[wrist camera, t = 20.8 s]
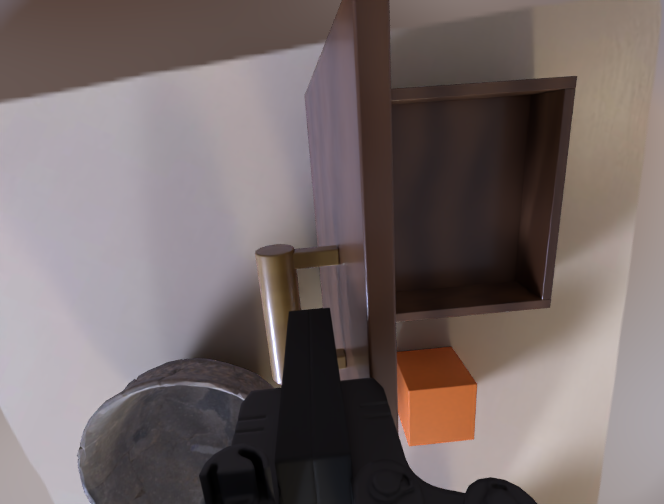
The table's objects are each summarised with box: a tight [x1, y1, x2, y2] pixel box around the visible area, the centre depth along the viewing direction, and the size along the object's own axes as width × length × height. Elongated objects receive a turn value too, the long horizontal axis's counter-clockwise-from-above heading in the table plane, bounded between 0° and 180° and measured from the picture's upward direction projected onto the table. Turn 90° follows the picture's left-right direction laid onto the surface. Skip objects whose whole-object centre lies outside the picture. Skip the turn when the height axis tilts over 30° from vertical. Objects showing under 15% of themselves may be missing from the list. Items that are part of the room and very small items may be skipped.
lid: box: [255, 0, 398, 433], centre depth 21 cm, size 23×21×4 cm
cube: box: [397, 347, 477, 446], centre depth 42 cm, size 7×7×7 cm
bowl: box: [77, 358, 274, 504], centre depth 40 cm, size 21×21×10 cm
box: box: [391, 76, 577, 322], centre depth 36 cm, size 22×21×6 cm
